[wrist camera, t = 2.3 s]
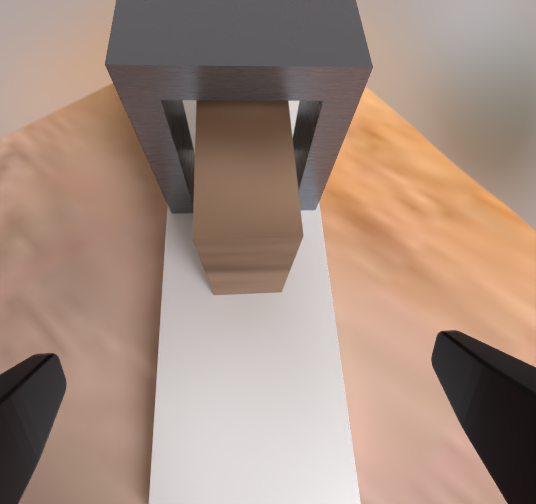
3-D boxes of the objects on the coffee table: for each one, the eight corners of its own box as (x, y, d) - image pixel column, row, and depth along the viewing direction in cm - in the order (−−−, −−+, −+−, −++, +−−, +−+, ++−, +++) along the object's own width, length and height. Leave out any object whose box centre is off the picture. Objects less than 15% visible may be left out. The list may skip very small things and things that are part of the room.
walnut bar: (281, 292, 19) (303, 236, 12) (213, 295, 19) (192, 239, 11) (270, 155, 23) (282, 47, 15) (214, 156, 23) (197, 45, 15)
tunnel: (315, 210, 21) (372, 67, 12) (171, 213, 21) (105, 64, 11) (309, 160, 23) (355, -3, 13) (174, 162, 22) (117, -10, 12)
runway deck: (349, 499, 17) (361, 514, 15) (158, 518, 16) (146, 536, 15) (298, 103, 28) (302, 83, 26) (180, 103, 27) (175, 82, 25)
